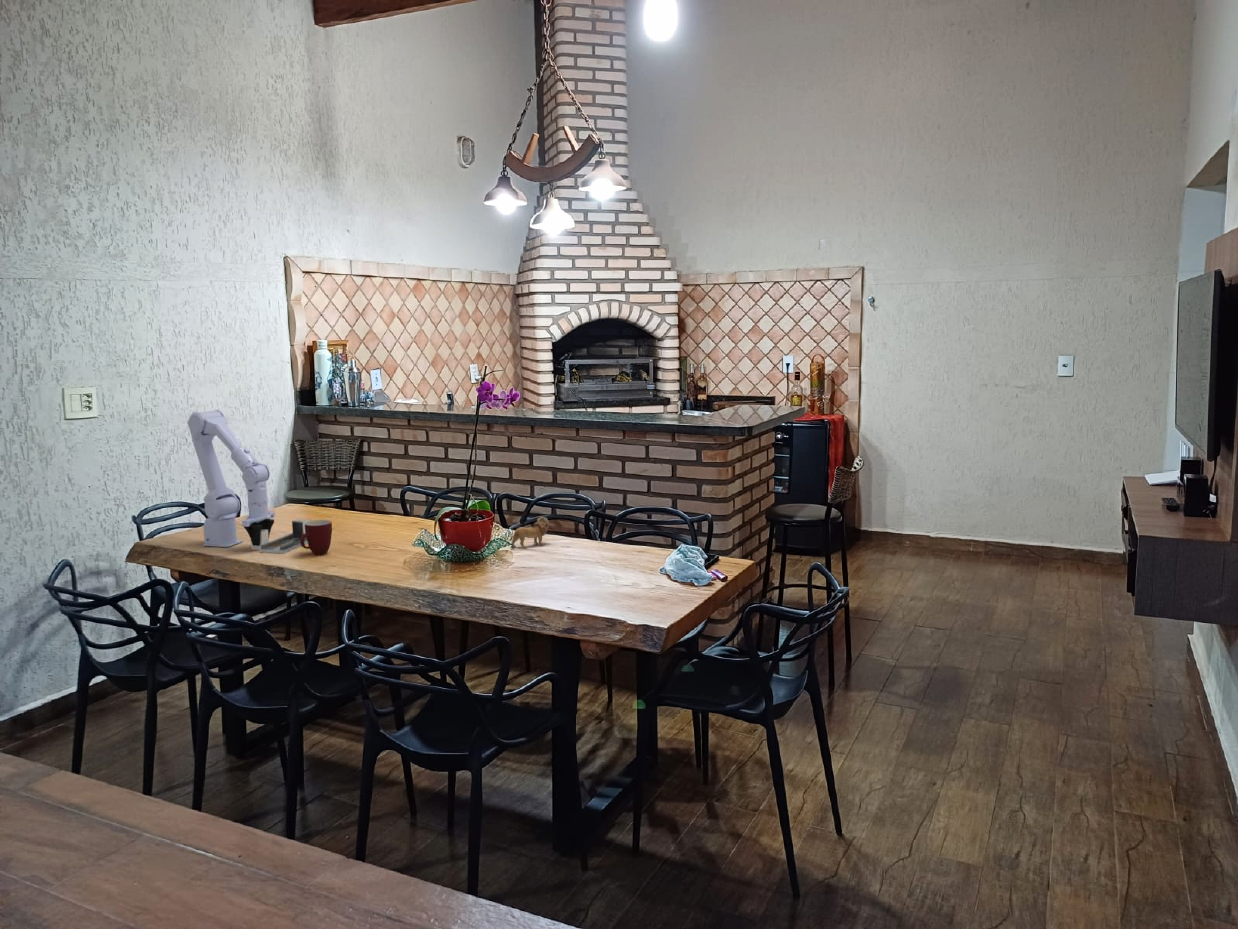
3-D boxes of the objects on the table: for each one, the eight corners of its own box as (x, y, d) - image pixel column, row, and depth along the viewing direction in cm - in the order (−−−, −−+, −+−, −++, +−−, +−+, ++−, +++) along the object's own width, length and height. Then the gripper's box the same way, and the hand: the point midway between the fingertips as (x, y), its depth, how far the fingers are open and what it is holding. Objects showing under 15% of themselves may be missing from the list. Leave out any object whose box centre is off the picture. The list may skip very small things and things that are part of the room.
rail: (261, 552, 280) (259, 530, 279) (295, 538, 298) (293, 518, 297) (283, 553, 278) (282, 532, 277) (316, 539, 297) (315, 519, 295)
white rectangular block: (251, 549, 283) (250, 531, 282) (259, 546, 287) (257, 528, 286) (262, 550, 282) (261, 532, 281) (270, 547, 286) (268, 529, 285)
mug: (313, 560, 270) (311, 528, 269) (294, 557, 274) (292, 525, 273) (338, 552, 280) (337, 521, 278) (320, 549, 283) (318, 519, 282)
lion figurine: (543, 541, 294) (543, 514, 292) (552, 544, 290) (552, 517, 288) (506, 548, 284) (505, 521, 283) (515, 551, 280) (514, 524, 279)
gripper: (255, 507, 274) (257, 549, 277) (282, 498, 288) (284, 539, 291) (235, 506, 276) (238, 548, 278) (262, 497, 290) (265, 537, 292)
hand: (260, 543), depth 284 cm, fingers closed on white rectangular block, 4 cm apart
